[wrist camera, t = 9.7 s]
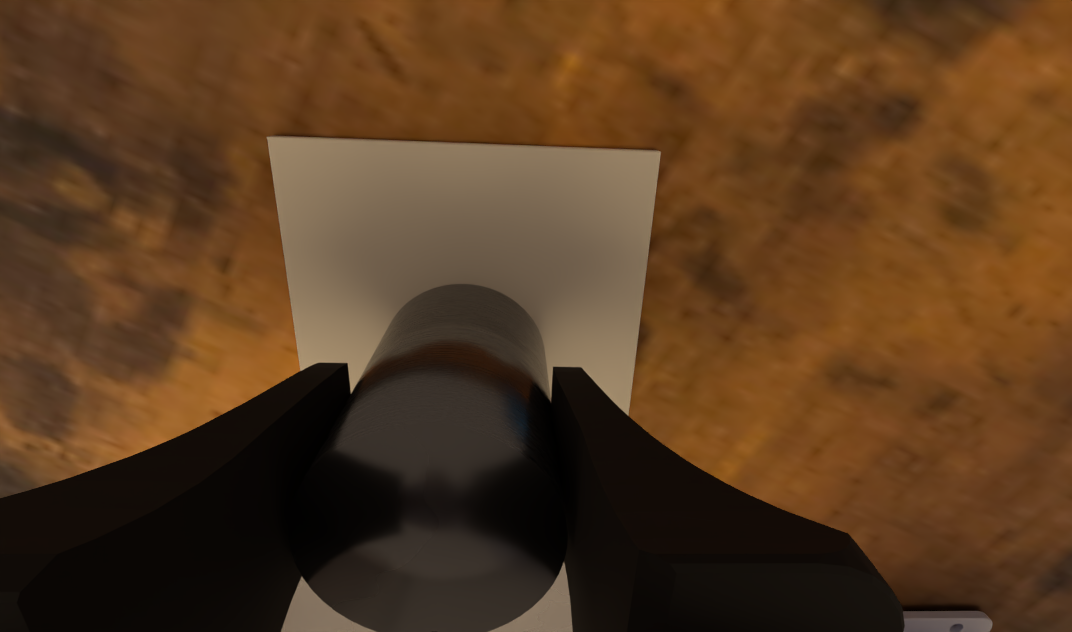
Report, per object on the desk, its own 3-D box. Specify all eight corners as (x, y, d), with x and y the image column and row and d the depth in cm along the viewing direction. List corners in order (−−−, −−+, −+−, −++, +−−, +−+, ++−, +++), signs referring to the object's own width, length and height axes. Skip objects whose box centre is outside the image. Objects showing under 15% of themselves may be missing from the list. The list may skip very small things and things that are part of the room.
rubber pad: (657, 149, 14) (661, 151, 14) (619, 458, 18) (622, 466, 18) (273, 135, 14) (266, 136, 14) (318, 456, 18) (313, 463, 17)
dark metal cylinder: (552, 289, 14) (582, 432, 8) (538, 433, 16) (554, 643, 10) (380, 278, 14) (274, 416, 8) (383, 426, 15) (299, 637, 9)
